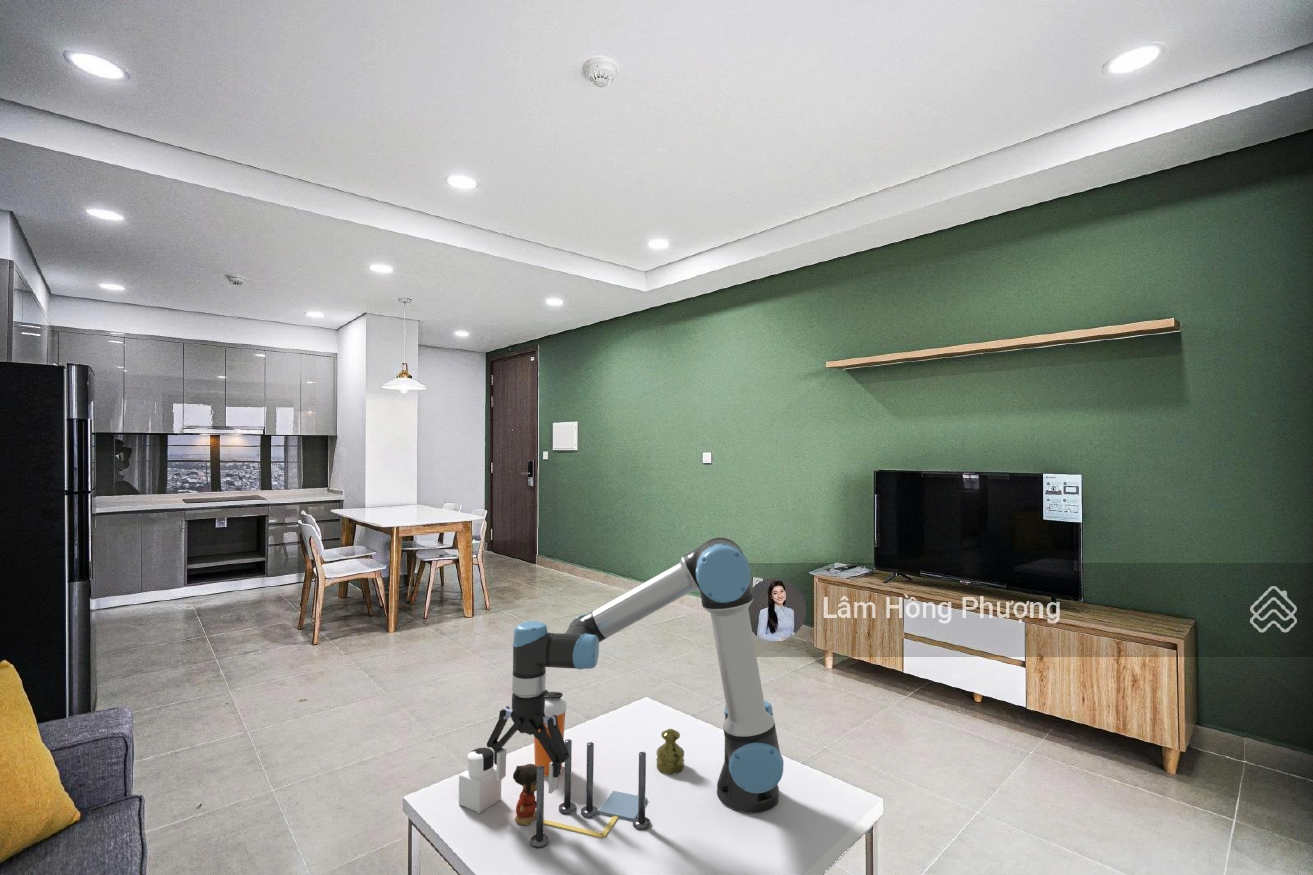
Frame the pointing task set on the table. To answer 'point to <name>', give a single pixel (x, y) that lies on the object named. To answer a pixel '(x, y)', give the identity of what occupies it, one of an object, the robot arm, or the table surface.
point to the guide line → (584, 831)
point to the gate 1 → (564, 808)
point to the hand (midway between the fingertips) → (526, 784)
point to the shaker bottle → (552, 707)
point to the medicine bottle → (479, 781)
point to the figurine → (526, 793)
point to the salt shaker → (670, 753)
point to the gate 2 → (641, 820)
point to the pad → (621, 806)
